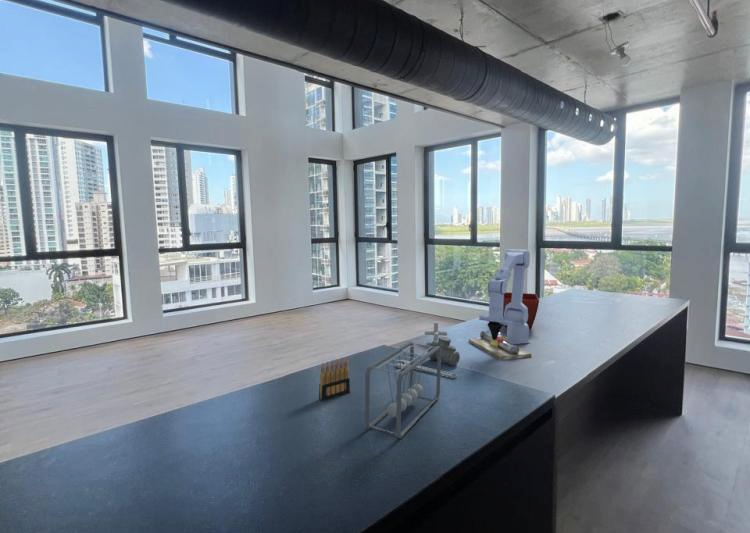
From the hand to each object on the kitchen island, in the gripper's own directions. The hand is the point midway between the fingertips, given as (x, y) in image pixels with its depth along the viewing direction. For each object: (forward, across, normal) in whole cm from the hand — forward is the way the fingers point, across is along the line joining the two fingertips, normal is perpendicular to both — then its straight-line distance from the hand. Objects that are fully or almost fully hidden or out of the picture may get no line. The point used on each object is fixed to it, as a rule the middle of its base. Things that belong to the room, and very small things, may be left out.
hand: (494, 339), depth 172 cm
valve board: (+7, -3, +9) cm, 11 cm away
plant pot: (+7, -18, +53) cm, 56 cm away
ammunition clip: (+8, -12, -75) cm, 77 cm away
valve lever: (0, 0, +4) cm, 4 cm away
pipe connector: (+7, -26, -6) cm, 28 cm away
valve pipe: (+7, -3, +9) cm, 11 cm away
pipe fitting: (+7, -8, -23) cm, 26 cm away
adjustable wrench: (+8, -7, -37) cm, 39 cm away
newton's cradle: (+8, +11, -67) cm, 68 cm away
